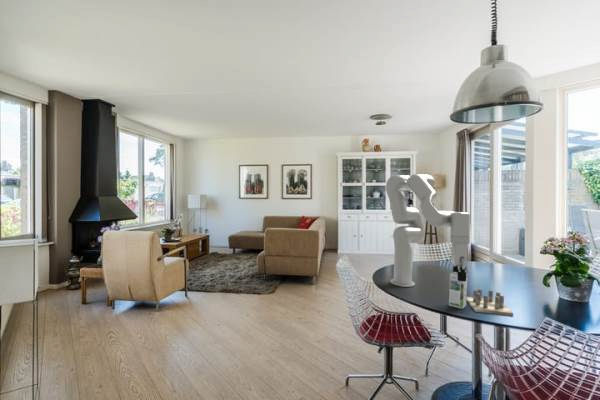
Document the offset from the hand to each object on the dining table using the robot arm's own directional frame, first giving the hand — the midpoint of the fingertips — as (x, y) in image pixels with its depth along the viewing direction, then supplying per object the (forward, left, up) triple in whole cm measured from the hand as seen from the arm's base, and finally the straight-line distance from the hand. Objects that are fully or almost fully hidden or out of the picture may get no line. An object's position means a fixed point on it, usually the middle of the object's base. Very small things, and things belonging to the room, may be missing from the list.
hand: (459, 278), depth 134 cm
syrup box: (0, 0, -13) cm, 13 cm away
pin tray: (-3, +13, -12) cm, 18 cm away
